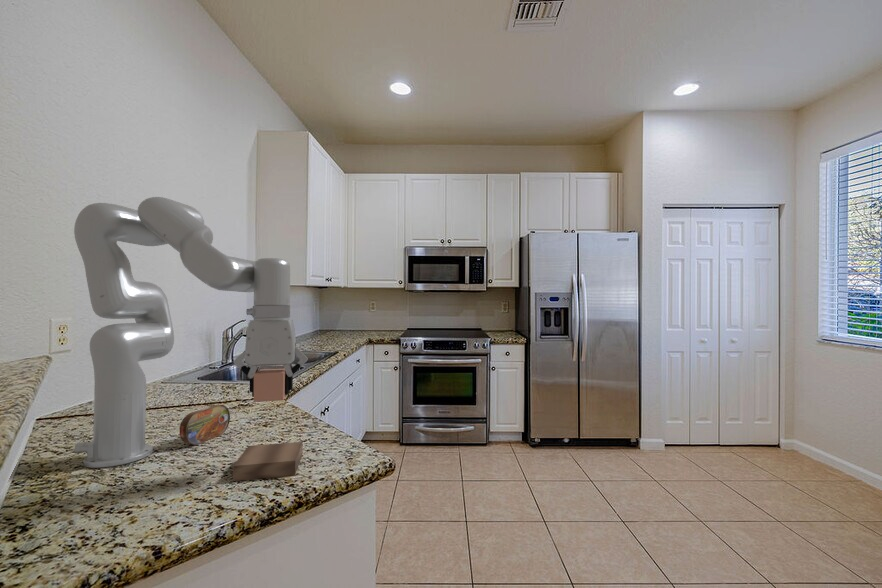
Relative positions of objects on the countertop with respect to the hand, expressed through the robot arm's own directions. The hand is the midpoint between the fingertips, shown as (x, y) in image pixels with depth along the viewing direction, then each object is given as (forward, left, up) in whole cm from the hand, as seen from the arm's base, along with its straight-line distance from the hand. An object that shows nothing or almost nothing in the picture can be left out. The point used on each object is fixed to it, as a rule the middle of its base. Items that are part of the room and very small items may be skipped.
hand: (271, 393), depth 87 cm
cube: (0, 0, -1) cm, 1 cm away
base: (0, 0, -16) cm, 16 cm away
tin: (-21, +24, -16) cm, 36 cm away
